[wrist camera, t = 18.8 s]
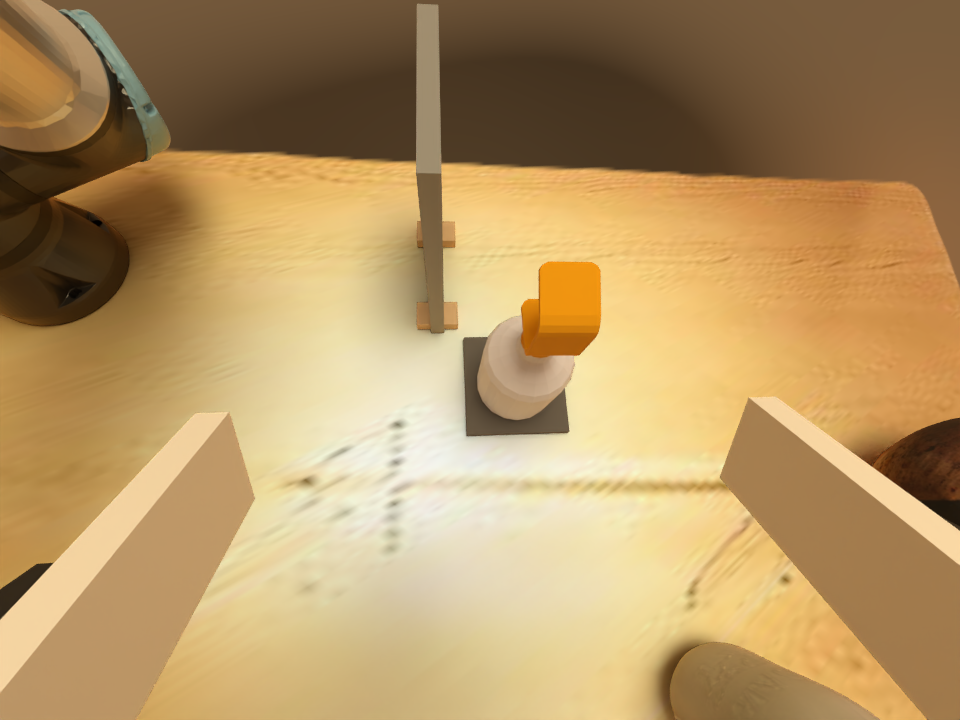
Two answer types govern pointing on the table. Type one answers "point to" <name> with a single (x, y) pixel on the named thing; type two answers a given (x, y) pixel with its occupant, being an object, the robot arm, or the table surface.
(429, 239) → the divider
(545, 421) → the coaster
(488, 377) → the soap bottle
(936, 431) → the ceramic vessel
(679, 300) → the table surface
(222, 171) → the table surface
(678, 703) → the glass bottle
